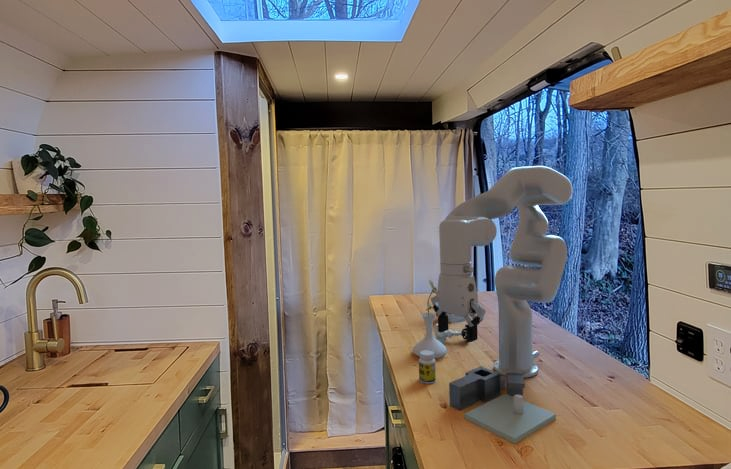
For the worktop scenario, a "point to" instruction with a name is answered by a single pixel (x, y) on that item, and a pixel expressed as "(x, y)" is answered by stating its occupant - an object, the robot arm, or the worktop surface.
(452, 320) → the supplement box
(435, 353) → the flower in vase
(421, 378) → the supplement bottle
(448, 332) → the valve
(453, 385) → the link
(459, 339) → the worktop surface
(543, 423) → the board
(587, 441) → the worktop surface
